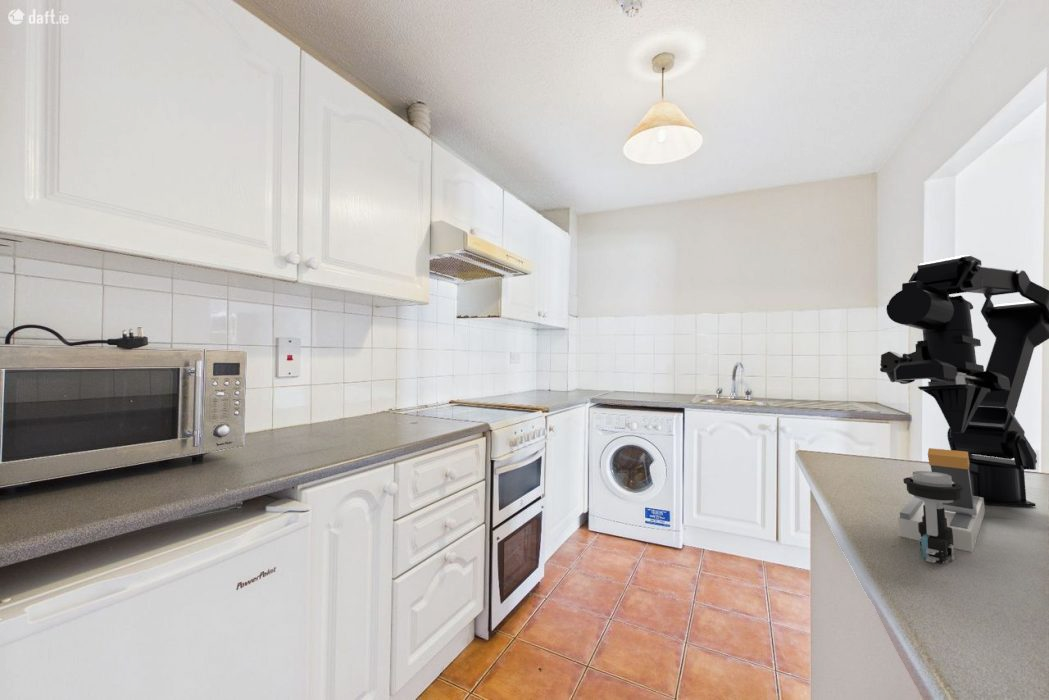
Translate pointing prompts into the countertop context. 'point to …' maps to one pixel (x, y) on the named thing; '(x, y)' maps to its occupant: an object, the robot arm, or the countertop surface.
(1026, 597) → the countertop surface
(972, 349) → the robot arm
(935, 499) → the push button
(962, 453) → the lever
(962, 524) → the panel
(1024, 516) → the countertop surface
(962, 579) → the countertop surface
